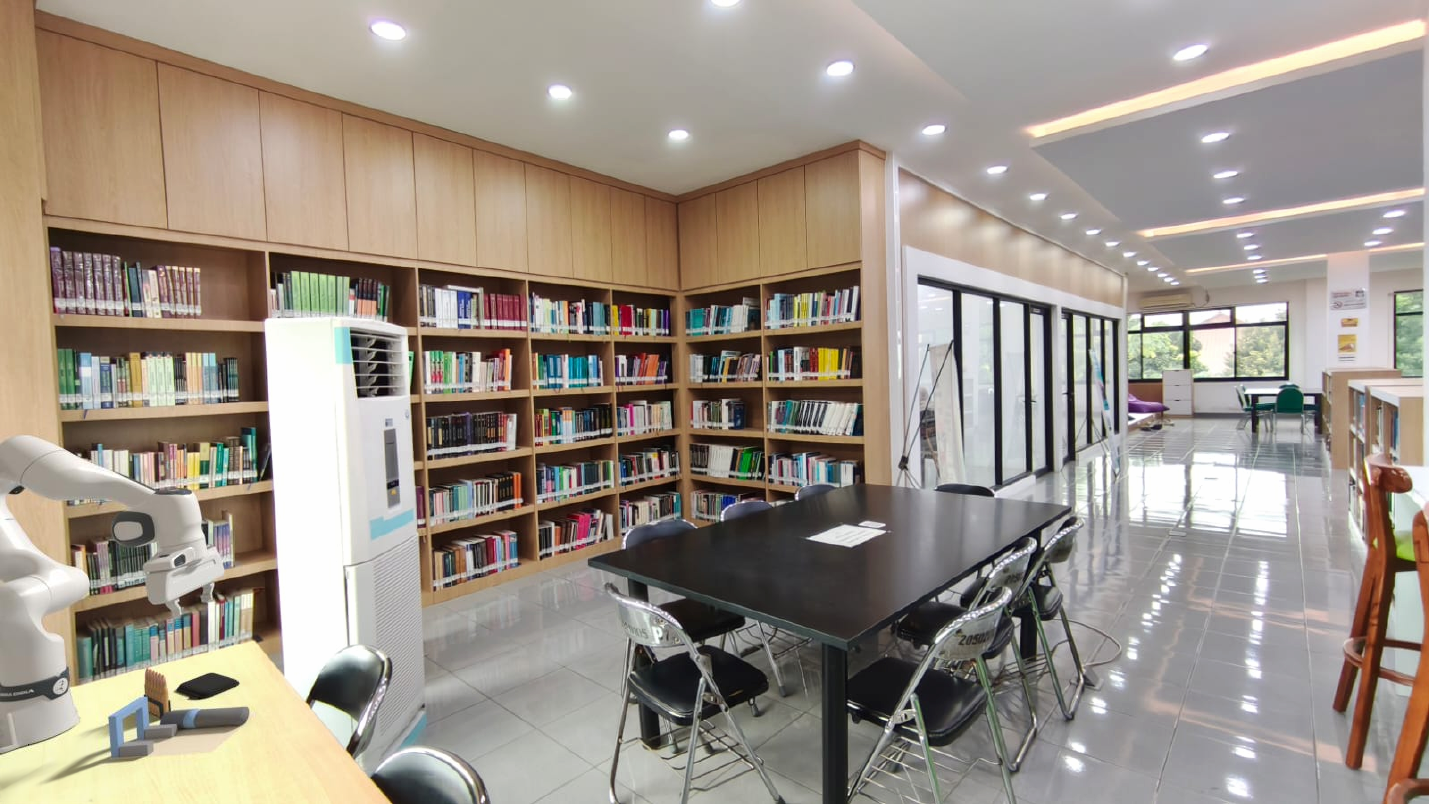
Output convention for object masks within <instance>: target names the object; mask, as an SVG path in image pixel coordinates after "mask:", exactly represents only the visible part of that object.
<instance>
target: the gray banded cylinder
mask: <svg viewBox="0 0 1429 804" xmlns="http://www.w3.org/2000/svg"><path fill="white" fill-rule="evenodd" d="M194 709H195V710H183V709H181V710H182V711H173V710H171V711H168V712H166V713H165V714H164V715H163V716H162V718H160V722H159V725H167V724H177V729H182V728H198V727H213V726H229V725H243V724H244V723H246V721H247V720H248V717H249V714H250V709H249V707H248V706H233V707H219V708H199V709H198V708H194ZM246 724H247V723H246Z"/></svg>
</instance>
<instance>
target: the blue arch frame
mask: <svg viewBox="0 0 1429 804" xmlns="http://www.w3.org/2000/svg"><path fill="white" fill-rule="evenodd" d="M131 714H135V724H136V737H137V738H136V740H145V729H146V728H148V727H149V726H150V716H149V714H150V713H149V712H148V698H147V697H144V696H140V697H138V698H137V699H135V700H133V701H132V702H130V703H128V704H127V705H125V706H124V707H122V708H120V709H119V710H116V712H114V713H112V714H110V715H109V716H108V717H107V719H108V730H109V731H108V732H109V744H110V758H119V757H120V753H119V746H121V745H122V744H124V743H125V736H124V734H125V733H124V723H123V719H125V718H126V717H128V716H131Z"/></svg>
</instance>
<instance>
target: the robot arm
mask: <svg viewBox="0 0 1429 804" xmlns="http://www.w3.org/2000/svg"><path fill="white" fill-rule="evenodd" d="M25 489H26V490H28V491H29V492H31V493H32V494H35V495H36V496H38V497H41V498H45V499H48V500H52V501H57V502H60V501H61V502H62V501H63V502H64V501H65V502H67V501H79V500H80V501H81V500H106V501H107V500H108V501H114V502H118V503H120V504H122V505H123V506H127V507H128V508H127V509H125V510H123V511H119V513H117V514H116V515H115V516H114V517H113V519H112V521H111V523H110V534H111V537H112V538H113V539H114V540H113V541H115V542H116V543H117V544H119V545H120V546H122V547H125V548H139V547H144V546H146V545H151V544H154V543H157V548H158V551H157V552H156V553H155V554H154V555H153V556H152V557H150V558H149V559H148V560H147V561H146V562H144V563H143V565H142V570H143V571H142V572H143V573H147V574H146V577H145V590H146V594H147V599H148V601H149V603H151V604H152V605H153V606H154V605H162V604H165V606H166V607H167V608H168V609H169V610H170V611H171V616H172V617H173V618H178V617H180V616H182V615H184V614H185V607H184V606H181V605H179V604H180V603H179V602H180V597H183V596H184V595H187V594H189V593H191V592H193V591H195V590H198V589H200V588H202V595H200V600H201V603H208V602H210V601H212V600H213V591H214V587H215V581H216V580H218V579H221V578H223V577H224V575H225V566H224V562H223V560H222V556H221V554H220V552H219V551H218V550H217V549H218V548H217V547H216V546H215V545H212V544H211V543H208V544H207V541H206V536H205V533H204V532H203V529H202V524H203V523H202V522H203V517H202V512H201V508H200V504H199V501H198V498H197V496H196V494H195V493H194V491H193V490H191V489H189V488H184V487H174V488H165V489H159V490H158V489H156V488H154V487H151V486H150V485H147V484H145V483H143V482H141V481H138V480H137V479H134V478H132V477H129V476H128V475H125V474H123V473H120V472H117V471H115V470H111V469H108V468H105V467H103V466H100V465H97V464H96V463H95V464H94V463H92V462H90V461H88V460H85V459H84V458H83V457H82V458H81V457H80V456H77V455H76V454H74V453H72V452H70V451H68V450H67V449H65V448H63V447H62V446H59V445H57V444H55V443H52V442H50V441H48V440H45V439H42V438H40V437H37V436H33V435H29V434H21V435H20V434H19V435H16V436H12V437H9V438H7V439H5V440H3V441H2V442H1V443H0V581H1V582H2V583H0V753H1V754H5V753H7V752H11V751H12V750H13V751H14V750H15V749H18V748H21V747H25V746H28V744H29V745H32V744H35V743H39V742H42V741H45V740H47V739H50V738H52V737H55V736H58V735H59V734H63V733H64V732H66V731H68V730H69V729H71V728H73V727H75V726H76V725H77V724H78V722H80V720H81V717H80V715H79V714H78V709H77V707H75V703H74V699H73V695H72V691H71V688H70V681H71V675H70V674H71V671H70V667H69V666H68V665H67V657H66V656H67V655H66V644H65V640H64V638H63V636H61V634H60V635H59V634H58V633H55V632H50V631H49V632H48V631H46V630H45V628H44V626H43V624H42V618H44V617H47V616H49V615H52V614H55V613H57V612H60V611H63V610H65V609H68V608H69V607H70V606H72V605H74V604H76V603H77V602H78V601H81V600H82V599H83V598H84V597H86V595H87V594H88V593H89V590H90V586H91V585H90V583H91V582H90V579H89V577H88V574H87V573H86V572H85V571H84V570H82V569H81V568H79V567H76V566H70V565H67V564H63V563H61V562H58V561H56V560H55V559H53V558H51V557H50V556H49V555H47V554H45V553H44V552H42V551H41V550H40V549H39V548H37V547H36V546H35V544H34V543H33V542H32V541H31V539H30V538H29V537H28V535H27V534H26V533H25V531H24V529H23V528H22V527H21V525H20V523H18V521H17V519H16V517H15V516H14V515H13V513H12V511H10V509H9V507H8V505H7V501H6V499H7V497H8V495H13V496H14V495H19V494H21V493H22V492H24V490H25Z"/></svg>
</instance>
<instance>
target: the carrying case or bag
mask: <svg viewBox="0 0 1429 804" xmlns="http://www.w3.org/2000/svg"><path fill="white" fill-rule="evenodd" d="M238 686H240V681H239V680H237V679H235V678H232V677H229V676H226V675H223V674H219V673H216V672H207V673H205V674H203V675H200V676H197V677H195V678H192V679H190V680H189V679H188V680H187V681H185V682H181V683H180V684H179V685H178V687H177V688H176V693H180V694H182V695H185V696H187V697H188V700H191V701H192V700H193V701H198V700H206V699H210V698H213V697H215V696H218V695H220V694H223V693H224V692H227V691H229V690H232V689H234V688H236V687H238Z"/></svg>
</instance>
